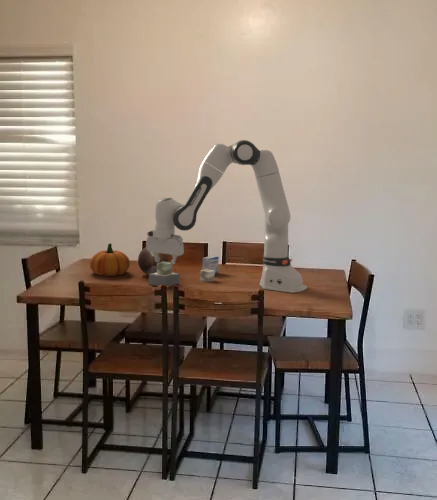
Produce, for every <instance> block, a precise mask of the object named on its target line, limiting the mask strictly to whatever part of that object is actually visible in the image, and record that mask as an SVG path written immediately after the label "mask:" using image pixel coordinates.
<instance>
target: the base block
mask: <svg viewBox="0 0 437 500" xmlns="http://www.w3.org/2000/svg"><path fill="white" fill-rule="evenodd" d="M149 284H150V286H153V285H157V286H156V287H158V286H159V285H162V284H164V285H167V286H171V287H174V286H173V285H175V284H178V285H180V273H178V272H173V271H172V274H168V275H161V274H157V272H156V273H151V274H149V275H148V285H149ZM175 286H176V285H175Z"/></svg>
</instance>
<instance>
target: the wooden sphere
mask: <svg viewBox="0 0 437 500" xmlns="http://www.w3.org/2000/svg"><path fill="white" fill-rule="evenodd" d="M168 255H169V254H163V253H158V257H159V258H160V261H159V262H169V256H168ZM137 257H138V258H137V263H138V264H137V265H138V267H139V268H140V270H141V271H142V272H143V273H145V274H146V275H148V276H149V274H151V273H156V272H157V263H159V262H156V261H155V257H154V255H153V252H151V251H148V250H147V247H146V246H145V247H143V248H142V250H141V251H140V252H139V254H138V256H137Z"/></svg>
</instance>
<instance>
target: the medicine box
mask: <svg viewBox="0 0 437 500" xmlns="http://www.w3.org/2000/svg"><path fill="white" fill-rule="evenodd" d="M219 258H220V257H219V256H217V255H210V256H209V255H208V256H206V257H202V269H201V270H205V269H209V270H215V275H216V274H219Z"/></svg>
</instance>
